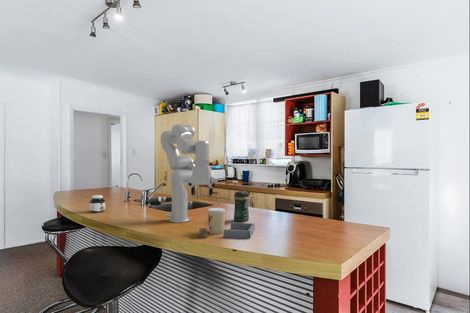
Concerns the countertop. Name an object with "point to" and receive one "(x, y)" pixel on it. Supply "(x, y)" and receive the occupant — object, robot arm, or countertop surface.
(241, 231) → the tray
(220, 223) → the coffee cup
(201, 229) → the walnut block
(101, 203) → the spread jar
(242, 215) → the coffee jar
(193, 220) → the countertop surface
